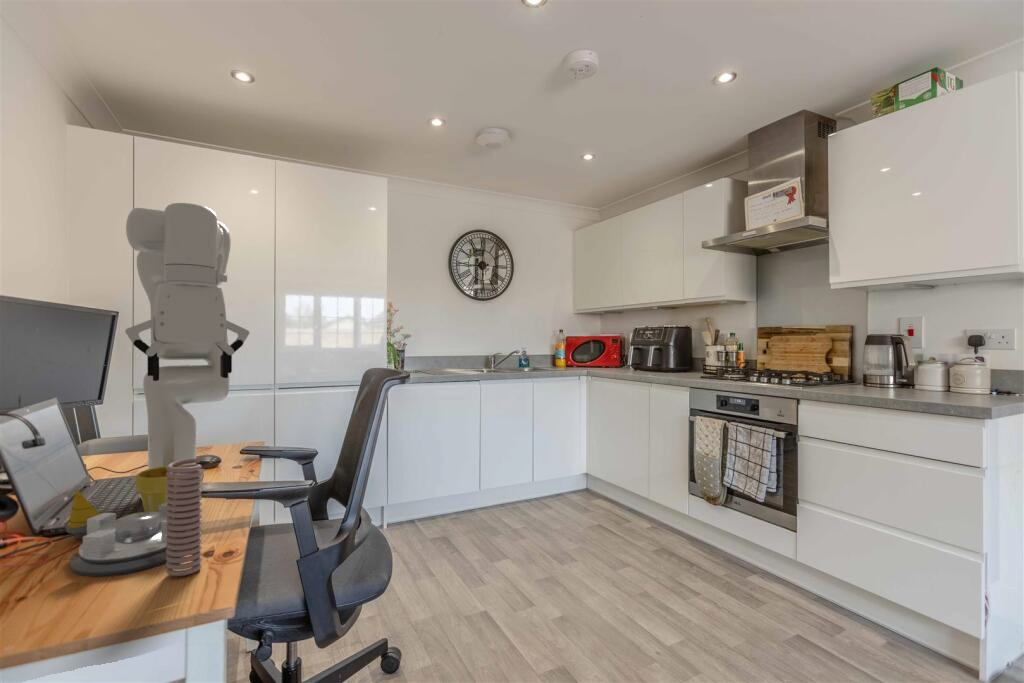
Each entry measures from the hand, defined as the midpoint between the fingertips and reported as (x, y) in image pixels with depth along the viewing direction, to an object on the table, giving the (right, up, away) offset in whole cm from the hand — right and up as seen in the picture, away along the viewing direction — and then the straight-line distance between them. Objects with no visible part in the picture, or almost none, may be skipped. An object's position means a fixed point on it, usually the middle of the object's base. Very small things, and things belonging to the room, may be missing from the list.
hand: (191, 378), depth 79 cm
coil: (+2, -31, -5) cm, 31 cm away
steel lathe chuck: (-11, -29, +2) cm, 31 cm away
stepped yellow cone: (-25, -31, +9) cm, 41 cm away
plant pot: (-19, -31, +19) cm, 41 cm away
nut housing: (-11, -31, +2) cm, 33 cm away
